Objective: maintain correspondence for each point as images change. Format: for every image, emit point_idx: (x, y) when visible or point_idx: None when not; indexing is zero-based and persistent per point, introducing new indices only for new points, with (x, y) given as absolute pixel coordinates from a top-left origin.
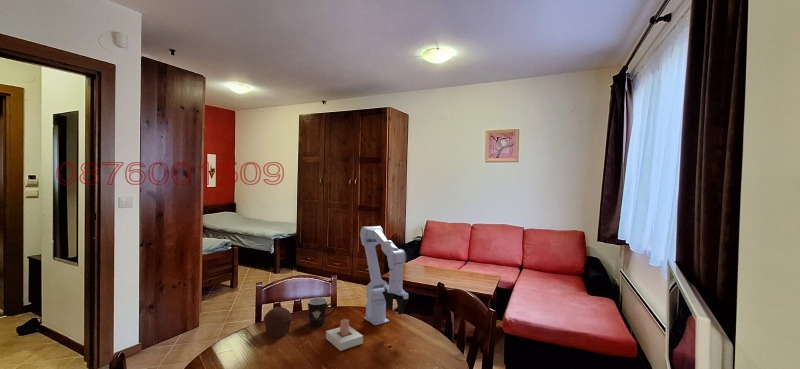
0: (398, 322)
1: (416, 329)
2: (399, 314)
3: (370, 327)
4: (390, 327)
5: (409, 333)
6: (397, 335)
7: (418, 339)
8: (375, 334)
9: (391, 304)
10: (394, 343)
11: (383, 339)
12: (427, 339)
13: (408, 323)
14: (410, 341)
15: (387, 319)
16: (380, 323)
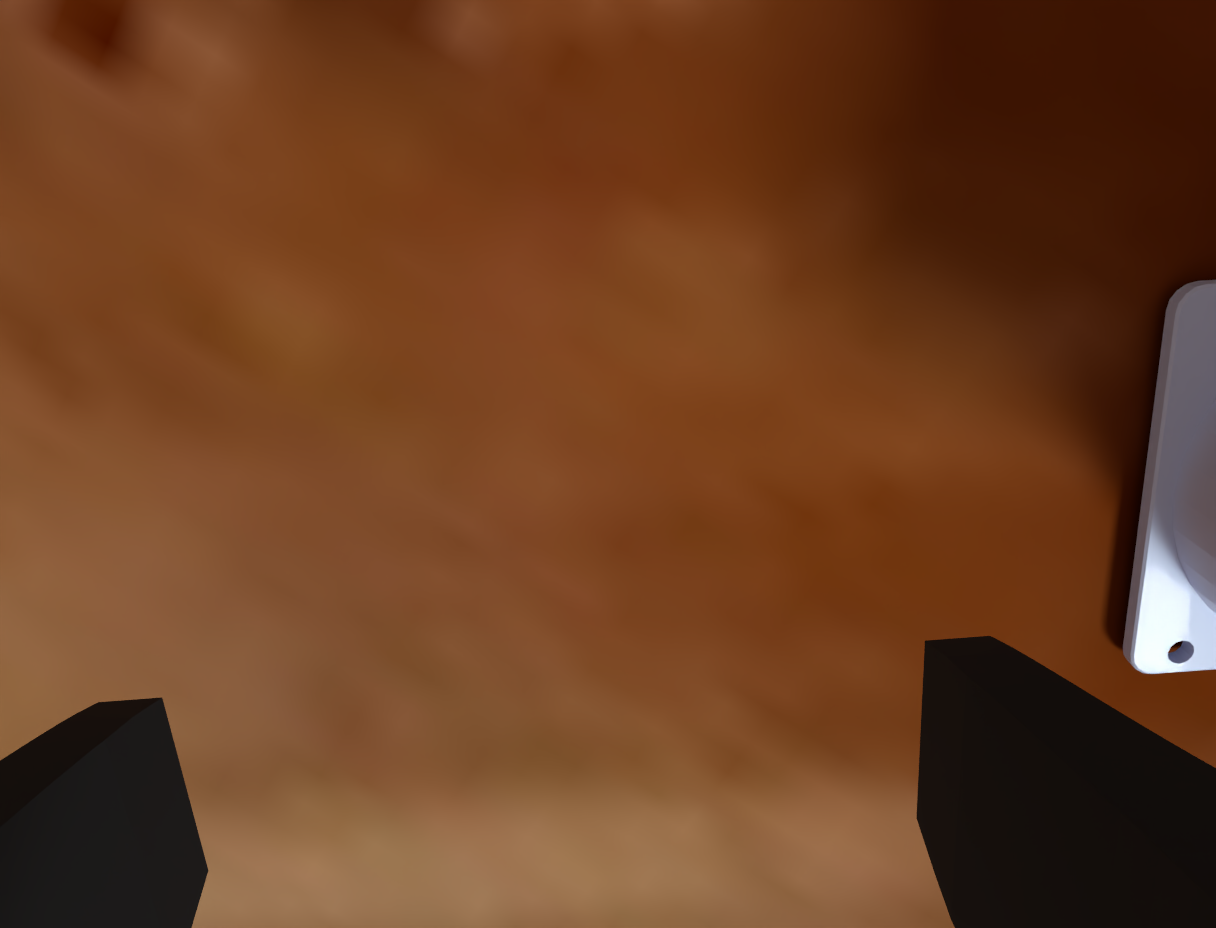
0: None
1: (519, 891)
2: (78, 717)
3: (1184, 134)
4: (883, 537)
5: (441, 707)
6: (485, 463)
7: None
8: (798, 39)
9: (972, 920)
10: (183, 199)
11: (472, 75)
12: None
13: (810, 906)
14: (129, 542)
15: (1195, 662)
16: (1154, 434)
